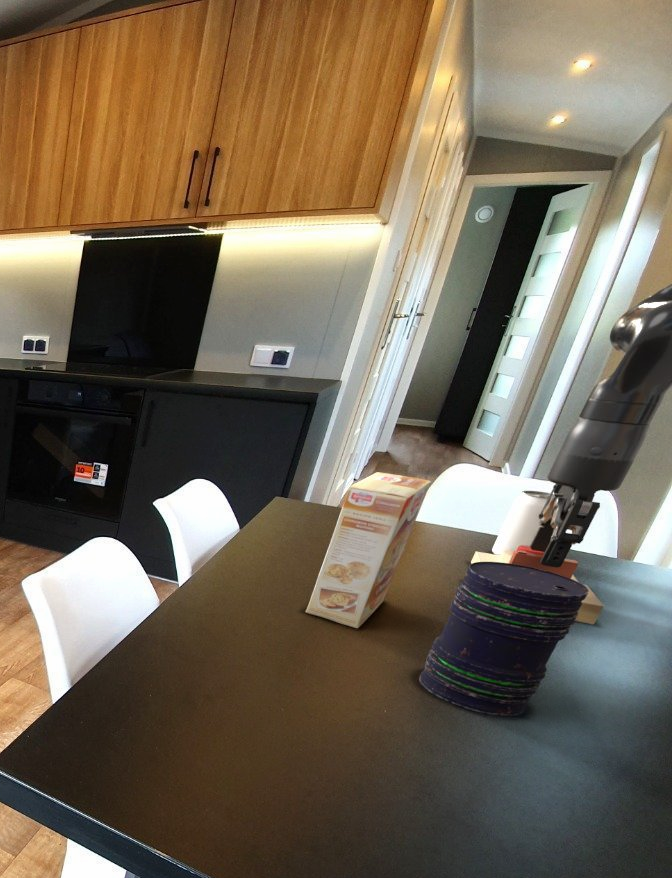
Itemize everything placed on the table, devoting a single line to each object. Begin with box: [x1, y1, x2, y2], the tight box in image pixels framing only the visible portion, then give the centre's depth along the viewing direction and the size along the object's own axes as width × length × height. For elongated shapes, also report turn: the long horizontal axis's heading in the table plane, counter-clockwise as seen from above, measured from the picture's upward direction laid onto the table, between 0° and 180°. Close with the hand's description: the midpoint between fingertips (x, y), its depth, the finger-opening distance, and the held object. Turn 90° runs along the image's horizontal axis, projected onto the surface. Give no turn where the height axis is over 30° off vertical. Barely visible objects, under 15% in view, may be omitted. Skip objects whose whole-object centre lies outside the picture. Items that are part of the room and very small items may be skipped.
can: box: [491, 490, 551, 556], centre depth 117 cm, size 6×6×12 cm
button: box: [516, 545, 545, 555], centre depth 108 cm, size 4×4×2 cm
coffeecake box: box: [305, 471, 432, 629], centre depth 93 cm, size 15×7×20 cm, turn 131°
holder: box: [509, 550, 579, 579], centre depth 98 cm, size 7×2×5 cm, turn 54°
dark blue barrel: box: [418, 562, 589, 717], centre depth 73 cm, size 10×10×15 cm
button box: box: [470, 550, 579, 582], centre depth 109 cm, size 12×9×4 cm
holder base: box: [465, 573, 604, 625], centre depth 100 cm, size 14×11×3 cm
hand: (543, 557), depth 98 cm, fingers open, 8 cm apart
